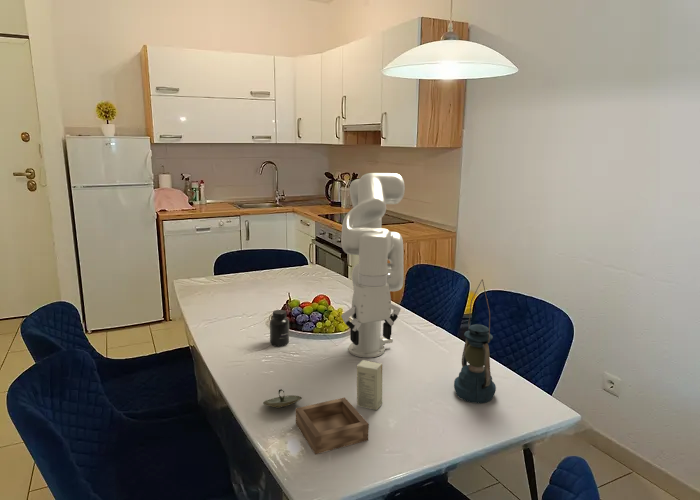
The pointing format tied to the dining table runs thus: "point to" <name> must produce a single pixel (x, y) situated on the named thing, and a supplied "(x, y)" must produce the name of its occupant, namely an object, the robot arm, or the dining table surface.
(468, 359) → the lantern
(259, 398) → the dining table surface
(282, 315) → the supplement bottle
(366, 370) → the skincare box
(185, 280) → the dining table surface
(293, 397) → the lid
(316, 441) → the wooden tray
